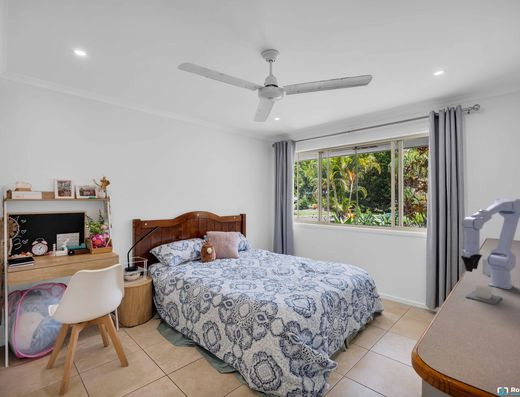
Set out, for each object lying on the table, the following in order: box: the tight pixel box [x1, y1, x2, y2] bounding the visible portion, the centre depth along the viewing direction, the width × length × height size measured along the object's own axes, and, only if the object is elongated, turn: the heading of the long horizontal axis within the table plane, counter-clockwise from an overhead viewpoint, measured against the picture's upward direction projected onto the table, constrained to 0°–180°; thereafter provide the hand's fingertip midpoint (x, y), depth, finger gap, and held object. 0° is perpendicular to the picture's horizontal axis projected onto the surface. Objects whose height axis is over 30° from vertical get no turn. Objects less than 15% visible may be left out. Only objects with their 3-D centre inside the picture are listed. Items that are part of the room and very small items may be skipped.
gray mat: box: [465, 290, 503, 306], centre depth 120 cm, size 12×10×1 cm
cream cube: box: [475, 283, 493, 299], centre depth 120 cm, size 4×4×4 cm
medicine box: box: [482, 258, 491, 278], centre depth 154 cm, size 8×4×9 cm, turn 168°
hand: (471, 270), depth 131 cm, fingers open, 7 cm apart
